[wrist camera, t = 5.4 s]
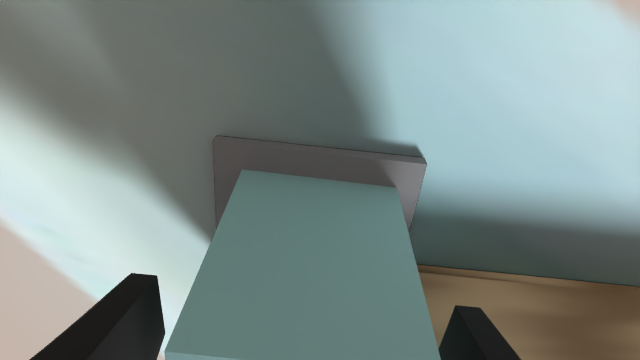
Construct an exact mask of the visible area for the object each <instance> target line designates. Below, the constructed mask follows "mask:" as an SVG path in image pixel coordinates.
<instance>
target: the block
mask: <svg viewBox="0 0 640 360" xmlns="http://www.w3.org/2000/svg"><path fill="white" fill-rule="evenodd" d="M164 352H165V360H441V358H440V354H439V350H438V346H437V342H436V338H435V334H434V331H433V327H432V323H431V319H430V315H429V311H428V307H427V303H426V299H425V296H424V292H423V288H422V284H421V280H420V276H419V272H418V268H417V264H416V261H415V257H414V253H413V249H412V245H411V241H410V237H409V233H408V229H407V225H406V222H405V218H404V214H403V210H402V206H401V202H400V198H399V194H398V190H397V188H396V187H387V186H379V185H370V184H362V183H353V182H345V181H337V180H328V179H320V178H311V177H303V176H294V175H286V174H278V173H269V172H261V171H252V170H244V169H242V171H241V173H240V175H239V178H238V180H237V182H236V185H235V187H234V189H233V192H232V194H231V196H230V199H229V201H228V204H227V206H226V208H225V211H224V213H223V215H222V218H221V220H220V222H219V225H218V227H217V229H216V232H215V234H214V236H213V239H212V241H211V243H210V246H209V248H208V250H207V253H206V255H205V257H204V260H203V262H202V264H201V267H200V269H199V272H198V274H197V276H196V279H195V281H194V283H193V286H192V288H191V290H190V293H189V295H188V297H187V300H186V302H185V304H184V307H183V309H182V311H181V314H180V316H179V318H178V321H177V323H176V325H175V328H174V330H173V332H172V335H171V337H170V340H169V342H168V344H167V347H166V349H165V351H164Z"/></svg>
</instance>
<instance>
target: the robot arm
mask: <svg viewBox="0 0 640 360" xmlns="http://www.w3.org/2000/svg"><path fill="white" fill-rule="evenodd" d="M164 335H165V328H164V321H163V314H162V307H161V300H160V293H159V286H158V278H157V276H155V275H145V274H135V273H131V274H130V275H129V276H127V277H126V278H125V279H124V280H123V281H121V282H120V283H119V284H118V285H117V286H116V287H115V288H113V289H112V290H111V291H110V292H109V293H108V294H107V295H106V296H104V297H103V298H102V299H101V300H100V301H99V302H98V303H96V304H95V305H94V306H93V307H92V308H91V309H90V310H88V311H87V312H86V313H85V314H84V315H83V316H82V317H80V318H79V319H78V320H77V321H76V322H75V323H73V324H72V325H71V326H70V327H69V328H68V329H66V330H65V331H64V332H63V333H62V334H60V335H59V336H58V337H57V338H55V339H54V340H53V341H52V342H51V343H50V344H49V345H47V346H46V347H45V348H44V349H43V350H41V351H40V352H39V353H37V354H36V355H35V356H34V357H32V358H31V359H30V360H157V357H158V354H159V351H160V348H161V345H162V342H163V339H164ZM438 350H439V354H440V358H441V360H521V359H520V357H519V356H518V355H517V353H516V352H515V351H514V350H513V348H512V347H511V346H510V345H509V343H508V342H507V341H506V340H505V338H504V337H503V336H502V334H501V333H500V332H499V331H498V329H497V328H496V327H495V326H494V324H493V323H492V322H491V320H490V319H489V318H488V317H487V315H486V314H485V313H484V312H483V310H482V309H481V308H479V307H469V306H459V305H455V307H454V310H453V313H452V315H451V318H450V320H449V323H448V326H447V328H446V331H445V333H444V336H443V339H442V341H441V344H440V346H439V349H438Z"/></svg>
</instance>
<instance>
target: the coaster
mask: <svg viewBox="0 0 640 360" xmlns="http://www.w3.org/2000/svg"><path fill="white" fill-rule="evenodd" d="M213 158H214V185H215V212H216V229H217V227H218V225H219V222H220V220H221V218H222V215H223V213H224V211H225V208H226V206H227V204H228V201H229V199H230V196H231V194H232V192H233V189H234V187H235V185H236V182H237V180H238V178H239V175H240V173H241V171H242V169H244V170H252V171H261V172H269V173H278V174H286V175H294V176H303V177H311V178H320V179H328V180H337V181H345V182H353V183H362V184H370V185H379V186H387V187H396V188H397V190H398V194H399V198H400V202H401V206H402V210H403V214H404V218H405V222H406V225H407V229H408V233H409V230H410V226H411V223H412V219H413V215H414V212H415V208H416V204H417V200H418V197H419V193H420V189H421V185H422V182H423V178H424V174H425V170H426V167H427V163H426V161H425V158H421V157H411V156H402V155H393V154H383V153H374V152H364V151H355V150H346V149H336V148H327V147H317V146H308V145H298V144H289V143H280V142H270V141H261V140H251V139H242V138H233V137H223V136H216V138H215V139H214V141H213Z"/></svg>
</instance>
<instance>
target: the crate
mask: <svg viewBox="0 0 640 360" xmlns="http://www.w3.org/2000/svg"><path fill="white" fill-rule="evenodd" d="M417 268H418V272H419V276H420V280H421V284H422V288H423V292H424V296H425V299H426V303H427V307H428V311H429V315H430V319H431V323H432V327H433V331H434V334H435V338H436V342H437V346H438V349H439V346H440V344H441V341H442V339H443V336H444V333H445V331H446V328H447V326H448V323H449V320H450V318H451V315H452V313H453V310H454V307H455V305H459V306H469V307H479V308H481V309H482V310H483V312H484V313H485V314H486V315H487V317H488V318H489V319H490V320H491V322H492V323H493V324H494V326H495V327H496V328H497V329H498V331H499V332H500V333H501V334H502V336H503V337H504V338H505V340H506V341H507V342H508V343H509V345H510V346H511V347H512V348H513V350H514V351H515V352H516V353H517V355H518V356H519V357H520V359H521V360H640V287H634V286H624V285H614V284H604V283H595V282H585V281H575V280H565V279H555V278H545V277H535V276H525V275H515V274H505V273H495V272H485V271H475V270H465V269H455V268H445V267H435V266H426V265H417Z"/></svg>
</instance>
